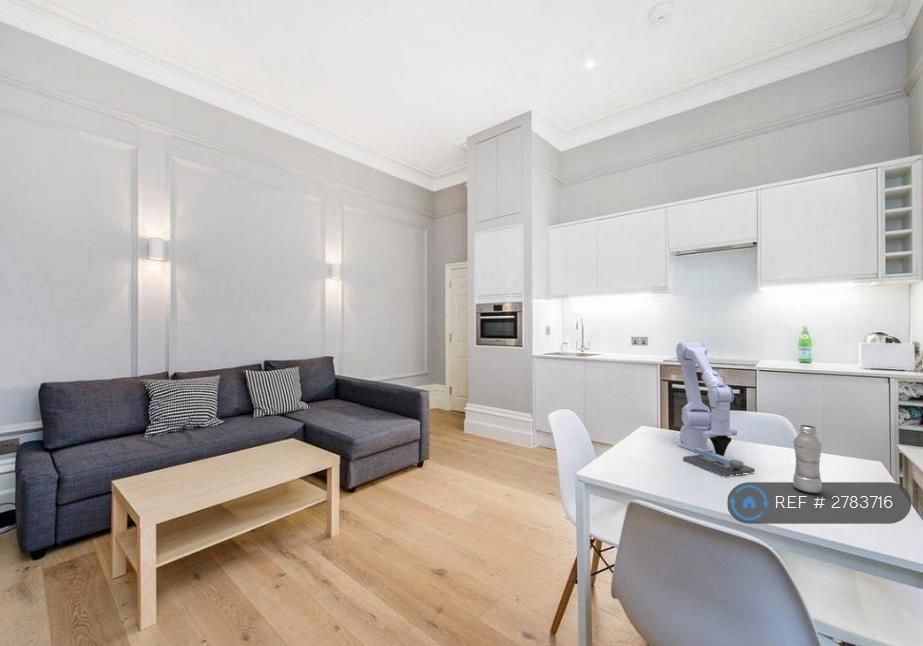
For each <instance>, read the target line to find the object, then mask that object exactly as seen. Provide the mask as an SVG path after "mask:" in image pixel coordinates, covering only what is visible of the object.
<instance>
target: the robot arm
mask: <svg viewBox="0 0 923 646" xmlns="http://www.w3.org/2000/svg"><path fill="white" fill-rule="evenodd" d="M675 352H676V358H677V362H678V364H680V367H681V372H682V379H683V384H684V390H685V395H686V400H687V403H686V404H685V405H684V406H683V407H682V408H681V421H682V423H683V425H682V426H681V428H680V430H679V431H680V432H679V444H678V446H679V447H681V448H682V447H683V448H685V449H687V450H690V451H693V452H694V448H701V449H704V450H707V451H710V452H713V449H711V448H708V439H709V440H710V441H711V443H712V444H711V445H712V446H713V448H714V453H715V454H718V455H721V456H724V457H725V454H726V450H727V449H728V446H729V445H730V443H731V441H732V437H733V436H735V437H736V436H738V430H737V429H733V428H731V426H730V425H731V424H730V423H731V422H730V421H731V419H730V418H731V416H730V415H731V409H730V408H731V403H733V401H734V399H735V393H734V391H733V389H732V387H730V386H728V385H727V384H725V382H724V381H723V379H722V377H721V375H720V374H719V372H718V371H717V370H713V368H712V365H711V364H710V361H709V359H708V356H707V355H708V348H707V345H706V344H705V343H704V342H701V341H700V342H696V341H695V342H692V341H691V342H687V341H686V342H684V341H680V342H678V343H677V345H676V347H675ZM696 365H697V367H698V369H699V370H700V371H701V372H702V375H701V379H702V381H703V384H704V385H705V386H706V388H707V390H708V391H707V397H708V400H709V406H711V408H710V407H708V406H707V405H706V404H704V403H703V401H702V395H701V390H700V385H699V380H698V375H697V374H698V373H697V370H696Z"/></svg>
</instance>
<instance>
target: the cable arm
mask: <svg viewBox="0 0 923 646" xmlns="http://www.w3.org/2000/svg"><path fill="white" fill-rule="evenodd" d="M693 453H695V454H696V455H702V456H705V457H707V458H710V459H713V460H716V461H718V462H721V463H724V464H726V465H729V466H731V467H732V468H736V469H743V465H744V462H743V461H741V460H737V459H731V458H728V457H726V456H725V455H724V456H721V455H718V454H716V453H715V452H713V451H707V450H704V449H701V448H694V451H693Z"/></svg>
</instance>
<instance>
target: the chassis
mask: <svg viewBox="0 0 923 646" xmlns="http://www.w3.org/2000/svg"><path fill="white" fill-rule="evenodd" d="M682 461H683V462H685V463H688V464H690V465H692V464H693V466H695V467H697V466H698V468H700V469H702V468H703V469H702V470H704V471H707V470H708V471H707V472H710V471H711V472H710V473H712V472H713V473H712V474H714V473H716V474H715V475H717V474H719V475H721V476H720V477H722V476H730V475H736V474H743V473H751V472H755V467H751V466H748V465H746V464H743V469H736V468H732V467H731V466H729V465H726V464H724V463H721V462H718V461H716V460H713V459H710V458H707V457H705V456H702V455H699V454H695V455H694V454H693V455H687V456H683V458H682ZM719 475H718V476H719Z"/></svg>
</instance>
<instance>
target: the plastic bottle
mask: <svg viewBox="0 0 923 646" xmlns="http://www.w3.org/2000/svg"><path fill="white" fill-rule="evenodd" d="M798 431H799V433H798V435H796V436H795V438H794V439H793V449H794V455H795V467H794V474H793V479H792V481H793V485H794V487H795V488H796V489H797V490H799V491H802V492H805V493H809V494H810V493H811V494H819V493H821V491H822V488H823V483H822V478H821V472H820V461H821V460H820V459H821V456H822V455H821V453H822V448H823V446H822V442H821V441H820V440H819V438H818V437H817V427H816V426H813V425H806V424H800V425H799V430H798Z"/></svg>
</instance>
